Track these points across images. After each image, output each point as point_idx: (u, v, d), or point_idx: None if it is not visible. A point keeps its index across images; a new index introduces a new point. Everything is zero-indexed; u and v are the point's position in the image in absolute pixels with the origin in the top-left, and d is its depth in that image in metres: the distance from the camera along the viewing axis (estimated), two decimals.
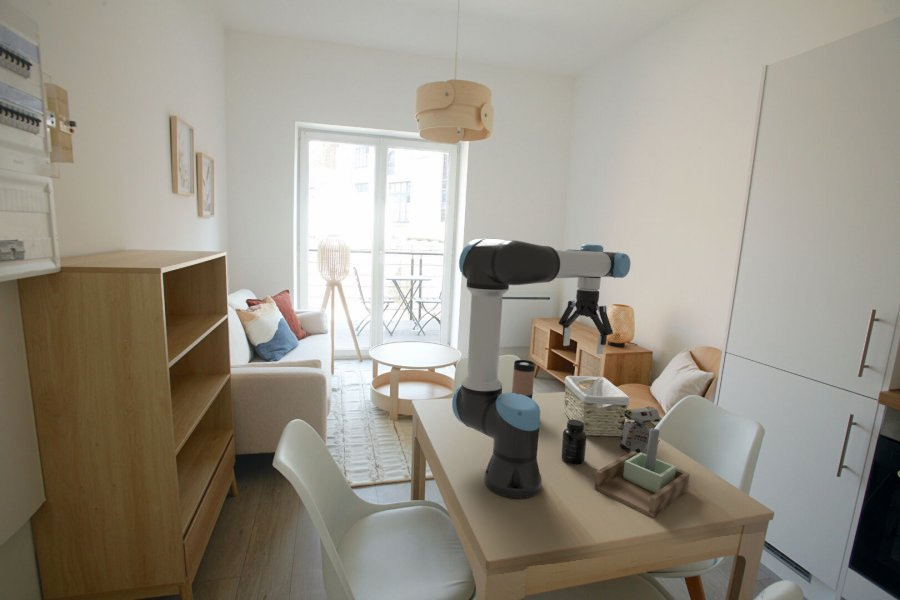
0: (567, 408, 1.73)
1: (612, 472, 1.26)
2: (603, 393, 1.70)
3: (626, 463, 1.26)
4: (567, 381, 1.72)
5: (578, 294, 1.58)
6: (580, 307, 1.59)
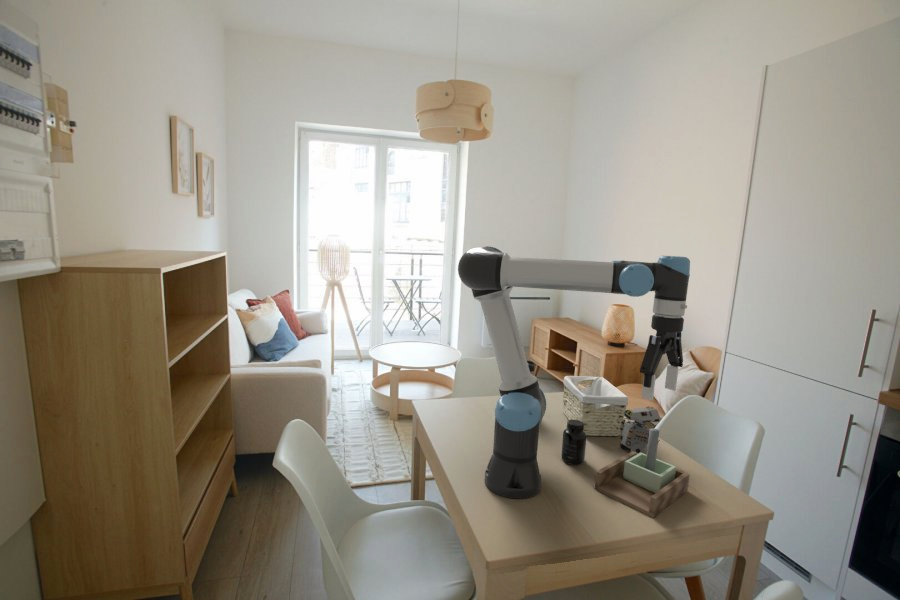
0: (566, 408, 1.73)
1: (612, 472, 1.26)
2: (602, 393, 1.70)
3: (626, 463, 1.26)
4: (566, 381, 1.72)
5: None
6: None
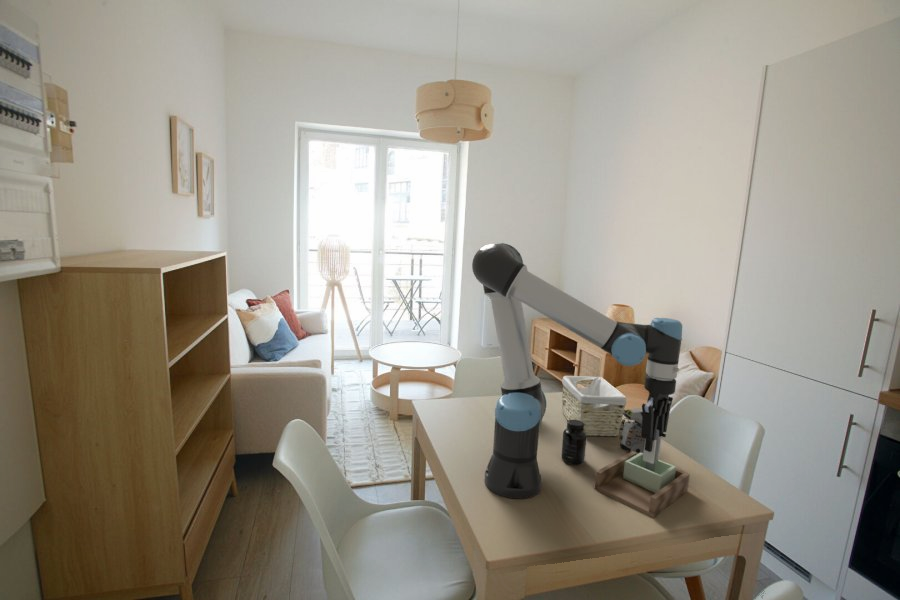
0: (564, 408, 1.73)
1: (612, 472, 1.26)
2: (600, 393, 1.70)
3: (626, 463, 1.26)
4: (564, 381, 1.72)
5: None
6: None
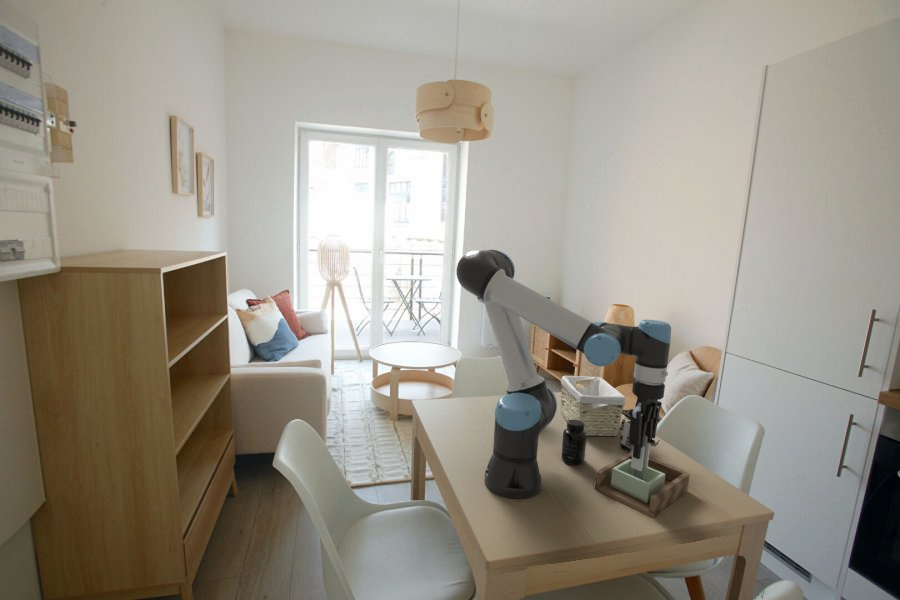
0: (563, 408, 1.73)
1: None
2: (599, 393, 1.70)
3: (614, 470, 1.22)
4: (563, 381, 1.72)
5: None
6: None
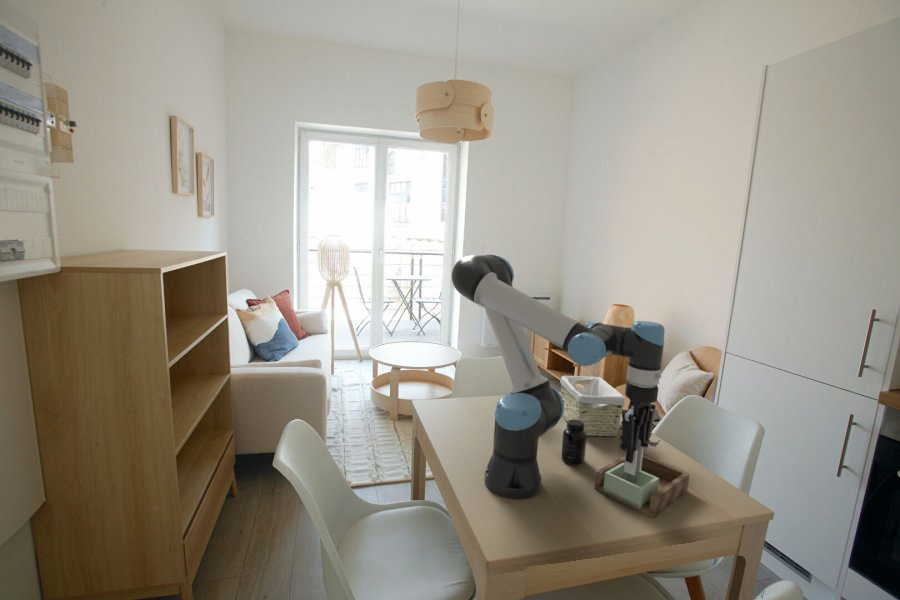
0: None
1: None
2: (599, 393, 1.70)
3: (606, 474, 1.19)
4: (563, 381, 1.72)
5: None
6: None
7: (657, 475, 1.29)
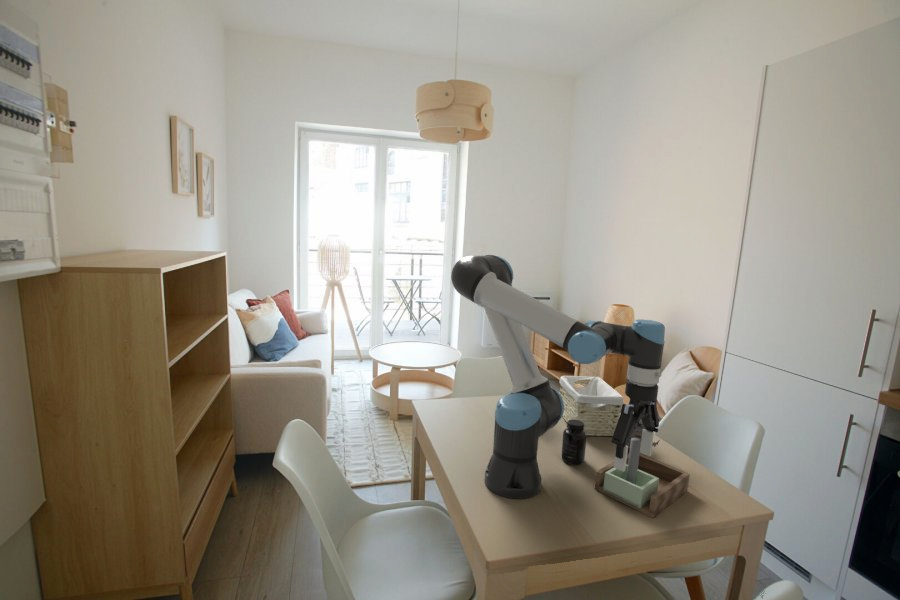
0: None
1: None
2: (598, 393, 1.70)
3: (606, 474, 1.19)
4: (562, 381, 1.72)
5: None
6: None
7: (657, 475, 1.29)
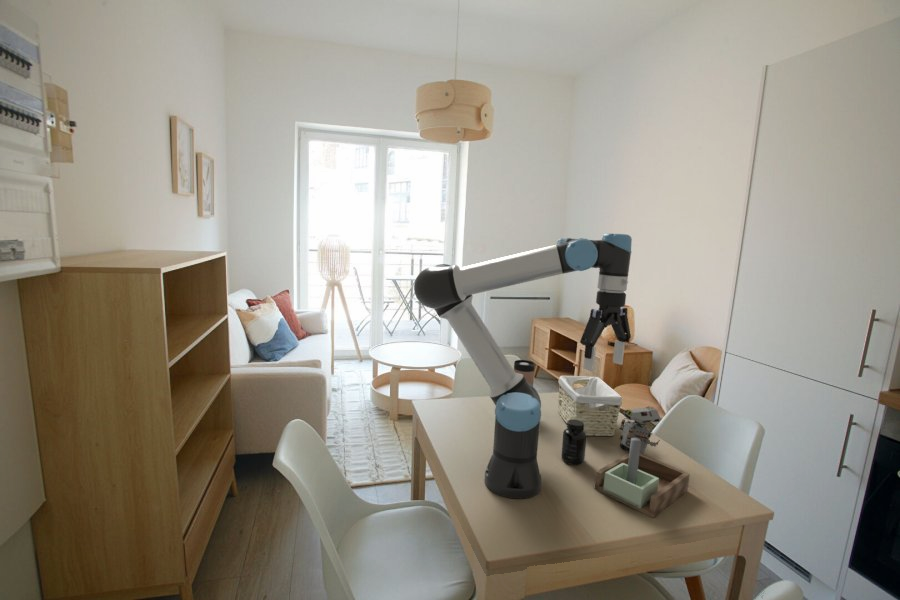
0: (561, 408, 1.73)
1: None
2: (597, 393, 1.70)
3: (606, 474, 1.19)
4: (561, 381, 1.72)
5: None
6: None
7: (657, 475, 1.29)
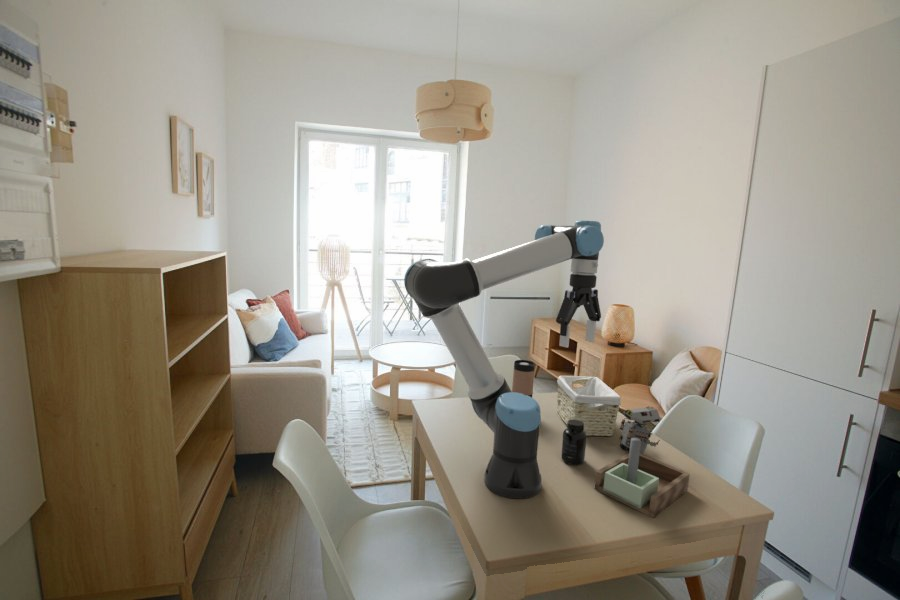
0: (560, 408, 1.73)
1: None
2: (596, 393, 1.70)
3: (606, 474, 1.19)
4: (560, 381, 1.72)
5: None
6: None
7: (657, 475, 1.29)
